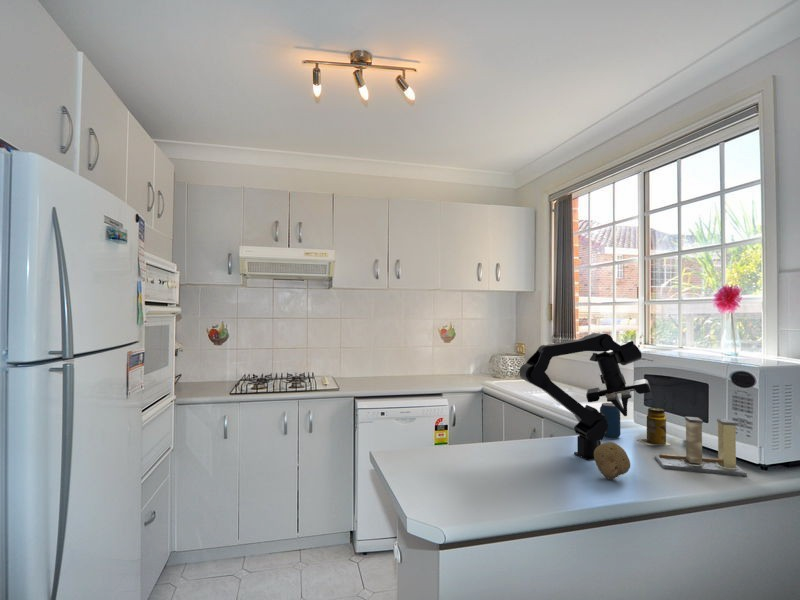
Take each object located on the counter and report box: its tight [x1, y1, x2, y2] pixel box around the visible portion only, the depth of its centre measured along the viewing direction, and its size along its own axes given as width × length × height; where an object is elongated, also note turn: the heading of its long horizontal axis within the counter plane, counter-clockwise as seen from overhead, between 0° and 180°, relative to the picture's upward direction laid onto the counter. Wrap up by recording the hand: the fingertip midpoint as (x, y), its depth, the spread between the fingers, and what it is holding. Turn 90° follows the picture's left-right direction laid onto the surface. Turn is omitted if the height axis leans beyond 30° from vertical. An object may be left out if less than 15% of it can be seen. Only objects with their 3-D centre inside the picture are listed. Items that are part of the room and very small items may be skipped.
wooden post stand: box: [653, 418, 748, 477], centre depth 134 cm, size 21×10×14 cm, turn 73°
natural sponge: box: [593, 441, 631, 480], centre depth 123 cm, size 9×9×10 cm
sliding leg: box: [684, 416, 704, 464], centre depth 134 cm, size 3×4×13 cm
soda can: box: [599, 402, 621, 440], centre depth 165 cm, size 7×7×12 cm
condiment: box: [636, 407, 672, 446], centre depth 159 cm, size 7×8×12 cm
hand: (625, 415), depth 143 cm, fingers closed
